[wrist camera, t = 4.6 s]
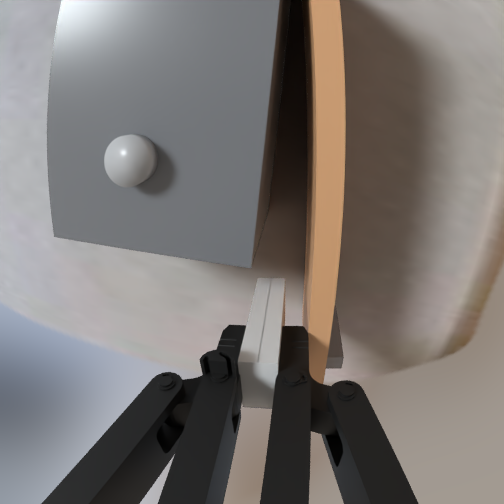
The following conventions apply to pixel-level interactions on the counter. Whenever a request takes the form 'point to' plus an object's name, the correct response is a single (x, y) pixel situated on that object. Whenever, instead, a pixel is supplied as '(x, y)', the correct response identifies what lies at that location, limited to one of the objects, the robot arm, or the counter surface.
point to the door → (323, 180)
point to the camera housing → (165, 124)
